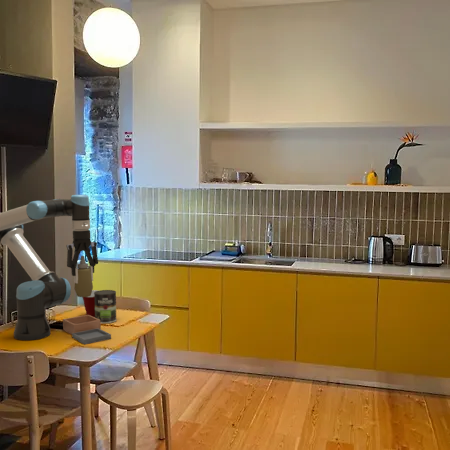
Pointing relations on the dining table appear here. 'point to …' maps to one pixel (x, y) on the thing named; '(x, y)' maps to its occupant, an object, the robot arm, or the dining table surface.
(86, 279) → the squeeze bottle
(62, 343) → the dining table surface
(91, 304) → the plastic cup
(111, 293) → the coffee can
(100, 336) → the tray
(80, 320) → the box
